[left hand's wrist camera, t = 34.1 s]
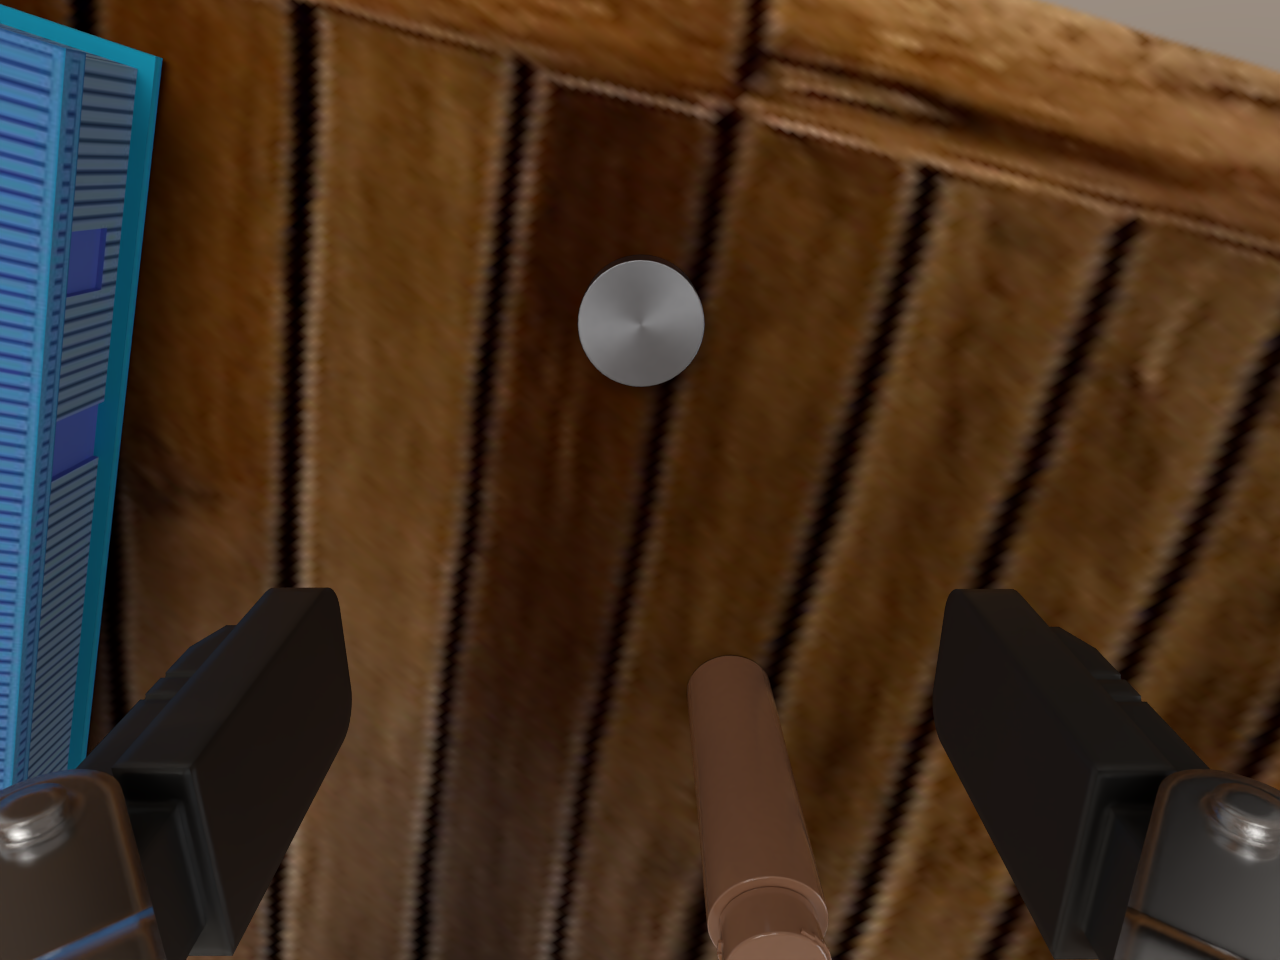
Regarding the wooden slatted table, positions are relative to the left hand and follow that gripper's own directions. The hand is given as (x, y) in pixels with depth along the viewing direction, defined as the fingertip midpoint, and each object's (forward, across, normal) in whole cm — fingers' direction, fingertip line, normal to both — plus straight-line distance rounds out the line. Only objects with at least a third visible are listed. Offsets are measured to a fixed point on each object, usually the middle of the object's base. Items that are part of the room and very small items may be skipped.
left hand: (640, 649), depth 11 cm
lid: (+25, 0, 0) cm, 25 cm away
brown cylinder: (+27, -5, +19) cm, 33 cm away
